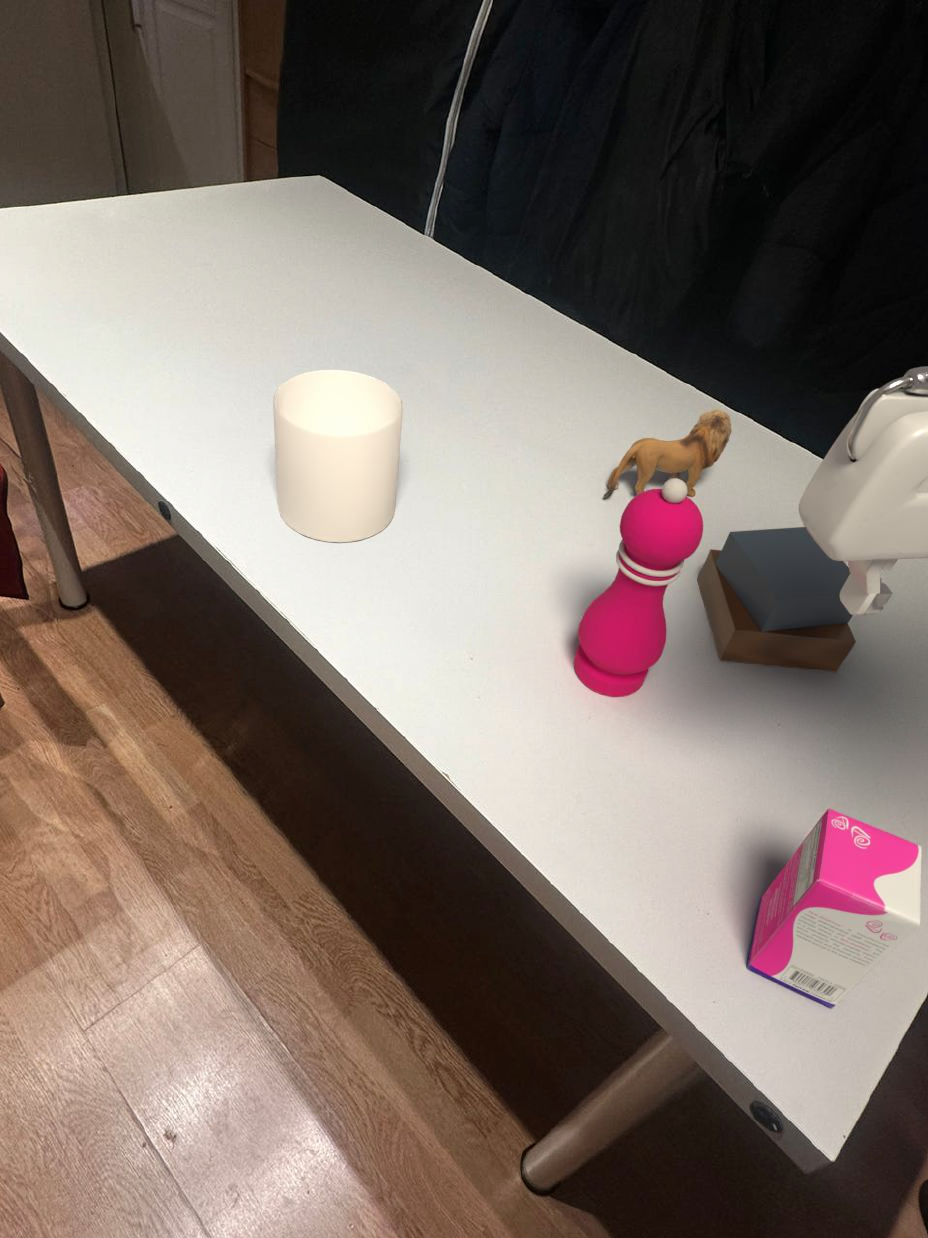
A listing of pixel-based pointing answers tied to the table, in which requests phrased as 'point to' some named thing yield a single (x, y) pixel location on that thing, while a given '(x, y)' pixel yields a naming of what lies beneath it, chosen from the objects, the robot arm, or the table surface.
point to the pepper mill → (638, 591)
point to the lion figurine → (677, 453)
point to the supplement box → (837, 909)
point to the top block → (784, 578)
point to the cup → (337, 454)
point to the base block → (773, 648)
